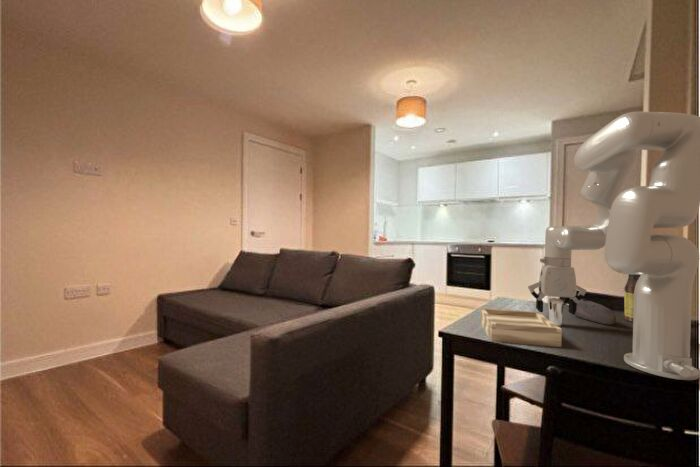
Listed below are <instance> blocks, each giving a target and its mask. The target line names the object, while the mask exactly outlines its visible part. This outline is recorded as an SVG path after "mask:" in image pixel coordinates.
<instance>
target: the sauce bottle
mask: <svg viewBox="0 0 700 467" xmlns="http://www.w3.org/2000/svg"><path fill="white" fill-rule="evenodd" d="M639 277H640V275H630V274H628V278H627V280H626V284H625V286H624V288H623V292H624V295H623V296H624V297H623V298H624V299H623V300H624V301H623V302H624V304H623V306H624V317H625V318H624V319H625V320H627V321H629V322H632V323H633V311H634V290H635V286H636V283H637V281H638V279H639Z"/></svg>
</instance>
